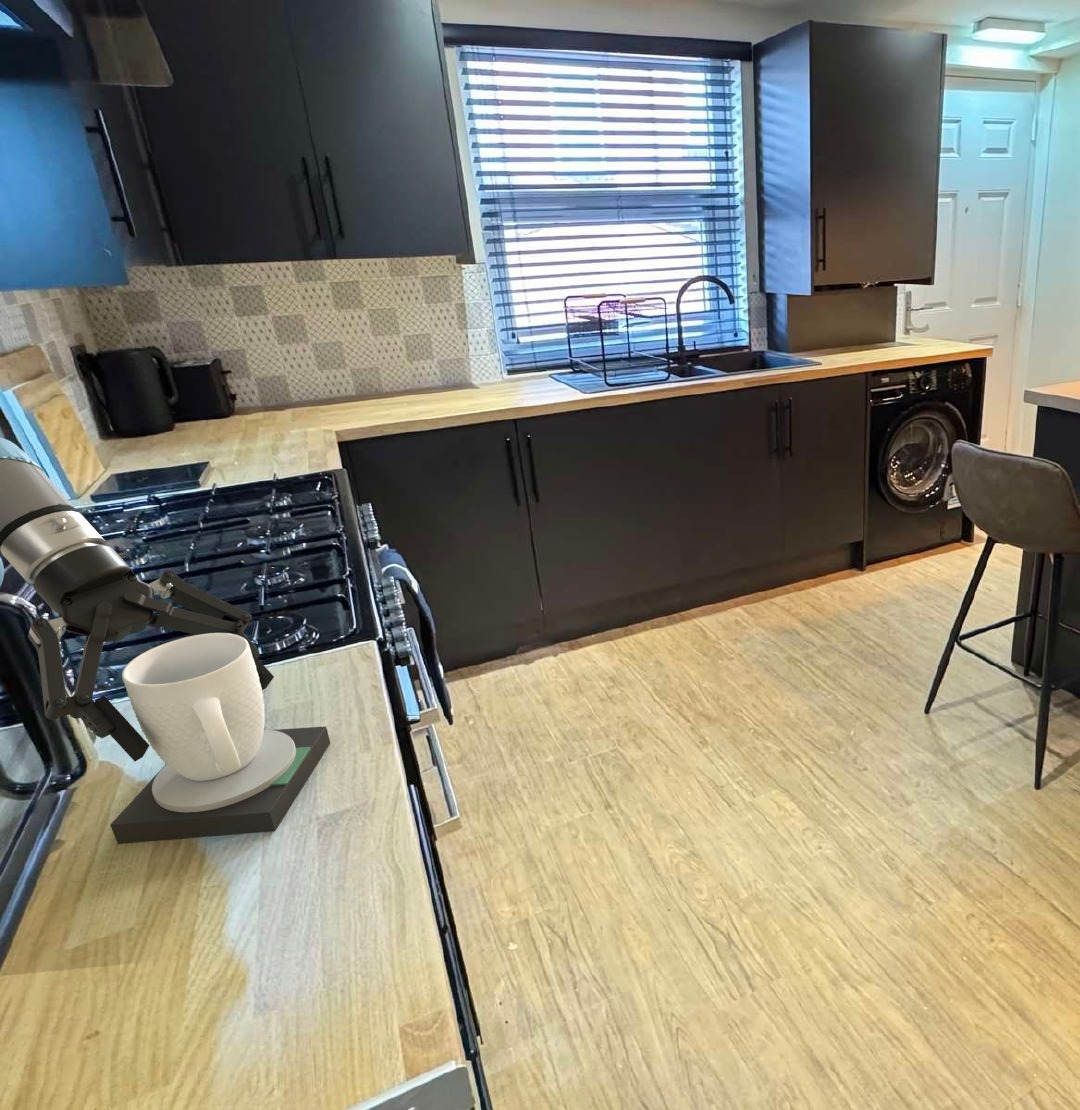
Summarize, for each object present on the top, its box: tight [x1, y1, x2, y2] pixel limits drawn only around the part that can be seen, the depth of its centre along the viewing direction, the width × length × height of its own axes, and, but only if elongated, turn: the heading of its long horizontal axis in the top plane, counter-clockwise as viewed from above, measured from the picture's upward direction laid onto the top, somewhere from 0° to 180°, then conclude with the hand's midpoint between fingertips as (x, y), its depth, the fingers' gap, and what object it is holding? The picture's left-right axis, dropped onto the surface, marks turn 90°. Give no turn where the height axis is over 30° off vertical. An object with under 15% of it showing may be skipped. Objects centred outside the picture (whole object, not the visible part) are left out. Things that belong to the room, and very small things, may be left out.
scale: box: [110, 725, 331, 845], centre depth 85 cm, size 15×15×3 cm
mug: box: [121, 633, 266, 781], centre depth 81 cm, size 15×11×13 cm
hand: (209, 716), depth 82 cm, fingers open, 13 cm apart
